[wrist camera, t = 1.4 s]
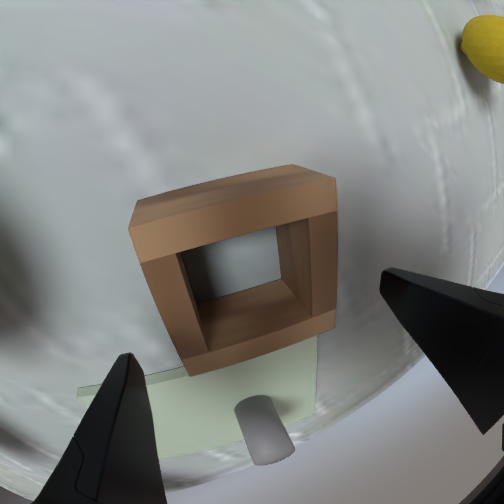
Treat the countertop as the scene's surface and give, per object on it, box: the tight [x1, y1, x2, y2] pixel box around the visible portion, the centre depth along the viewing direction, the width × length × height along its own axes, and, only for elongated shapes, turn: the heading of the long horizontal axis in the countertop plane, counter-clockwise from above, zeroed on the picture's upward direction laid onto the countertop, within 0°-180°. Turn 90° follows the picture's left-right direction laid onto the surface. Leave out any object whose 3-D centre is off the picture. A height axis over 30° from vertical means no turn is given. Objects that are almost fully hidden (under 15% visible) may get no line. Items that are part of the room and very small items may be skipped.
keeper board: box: [76, 335, 317, 465], centre depth 16 cm, size 16×11×5 cm
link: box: [128, 164, 338, 377], centre depth 12 cm, size 7×7×4 cm
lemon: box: [460, 15, 504, 84], centre depth 8 cm, size 6×6×8 cm
